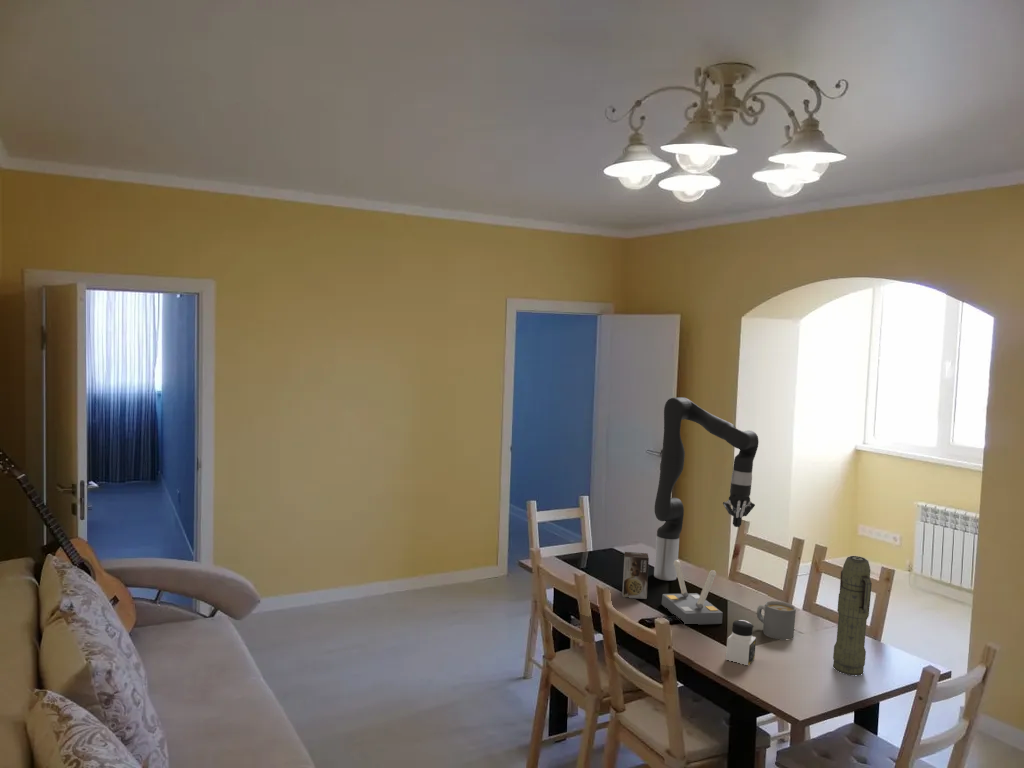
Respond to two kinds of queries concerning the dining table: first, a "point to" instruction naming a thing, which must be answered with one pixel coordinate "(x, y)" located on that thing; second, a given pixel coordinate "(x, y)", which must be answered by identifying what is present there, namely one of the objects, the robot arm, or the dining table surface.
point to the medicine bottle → (741, 643)
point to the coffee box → (635, 575)
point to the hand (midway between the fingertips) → (736, 526)
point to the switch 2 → (706, 589)
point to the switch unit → (691, 609)
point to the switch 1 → (680, 578)
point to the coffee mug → (777, 619)
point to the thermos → (852, 616)
